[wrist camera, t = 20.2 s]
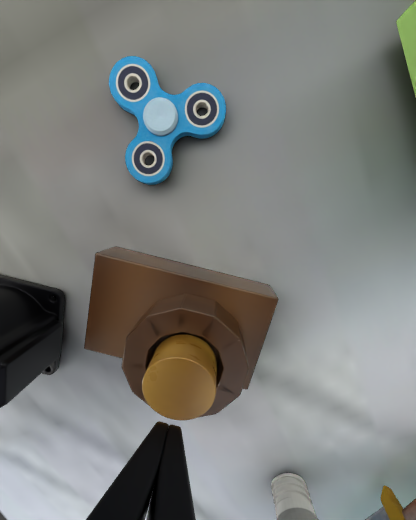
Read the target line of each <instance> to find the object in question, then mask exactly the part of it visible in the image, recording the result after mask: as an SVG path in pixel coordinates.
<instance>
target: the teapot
mask: <svg viewBox="0 0 416 520" xmlns="http://www.w3.org/2000/svg"><path fill="white" fill-rule="evenodd" d="M396 23H397V27H398V31H399V35H400V39H401V42H402V46H403V50H404V54H405V58H406V62H407V66H408V70H409V73H410V77H411V81H412V85H413V89H414V93H415V97H416V0H415V1H414V2H413V4H412V5H411V6H410V7H409V8H408V9H407V10H406V11H405V12H404V13H403V14H402V15H401V17H400V18H399V19H398V20H397V21H396Z"/></svg>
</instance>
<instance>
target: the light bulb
mask: <svg viewBox="0 0 416 520" xmlns="http://www.w3.org/2000/svg"><path fill="white" fill-rule="evenodd" d="M271 489H272V495H273V497H274V504H275V511H276V518H277V520H319V519H318V518H317V516H316V514H315V511H314V508H313V506H312V501H311V499H310V495H309V492H308V489H307V485H306V482H305V481H304V479H303V478H302V477H300V476H298V475H296V474H291V473H284V474H281V475H278V476H277V477H275V478H274V479H273V480H272V482H271Z"/></svg>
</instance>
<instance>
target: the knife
mask: <svg viewBox="0 0 416 520" xmlns="http://www.w3.org/2000/svg"><path fill="white" fill-rule="evenodd" d="M381 502H382V504H383V507H382V508H381V509H379V510H378V511H377V512H375V513H374V514H372V515H371V516H370V517H368V518H367V519H365V520H416V499H414V500H413V501H412V502H411V503H410V504H409V505H407V506H406V507H405V508H404V509H403V508H402V506H401V504H400V503H399V501H398V499H397V498H396V496H395V495H394V493H393V491H392V490H391V489H390V488H389V487H387V486H385V485H384V486H383V490H382V494H381Z"/></svg>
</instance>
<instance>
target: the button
mask: <svg viewBox="0 0 416 520" xmlns="http://www.w3.org/2000/svg"><path fill="white" fill-rule="evenodd" d="M216 377H217V360H216V356H215V353H214V352H213V350H212V348H211V347H210V346H209V345H208V344H207V343H206V342H205V341H204V340H202V339H200V338H198V337H196V336H193V335H188V334H179V335H174V336H171V337H169V338H167V339H165V340H164V341H162V342H161V343H160V344H159V346H158V347H157V349H156V351H155V353H154V355H153V357H152V359H151V362H150V364H149V366H148V368H147V370H146V372H145V374H144V377H143V380H142V391H143V395H144V398H145V400H146V401H147V403H148V404H149V406H150V407H151V408H152V409H153V410H154V411H156V412H157V413H159V414H160V415H162V416H164V417H167V418H170V419H174V420H190V419H194V418H197V417H199V416H201V415H203V414H204V413H206V412H207V411H208V410H209V409H210V407H211V406H212V404H213V402H214V400H215V396H216Z"/></svg>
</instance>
